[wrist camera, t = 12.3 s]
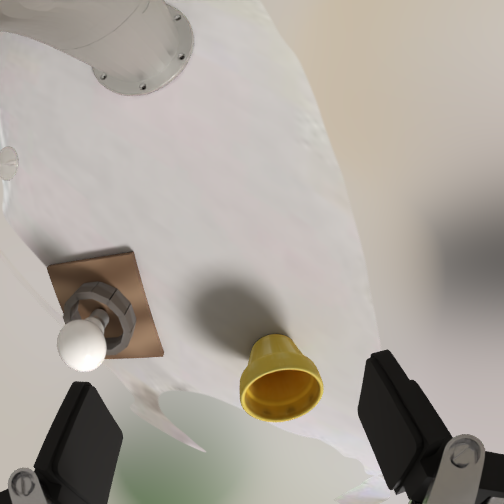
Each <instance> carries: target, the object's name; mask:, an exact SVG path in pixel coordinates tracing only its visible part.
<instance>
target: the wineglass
mask: <svg viewBox="0 0 504 504" xmlns="http://www.w3.org/2000/svg"><path fill="white" fill-rule="evenodd" d="M17 169H18V156H17V153H16V151H15V150H14V149H13V148H12V147H5V148H3V149H2V150H1V152H0V177H1V178H2V179H3V180H5V181H8V180H11V179H12V178H13V177H14V176H15V174H16V172H17Z"/></svg>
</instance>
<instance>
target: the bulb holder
mask: <svg viewBox="0 0 504 504" xmlns="http://www.w3.org/2000/svg"><path fill="white" fill-rule="evenodd" d="M47 270H48V273H49V276H50V279H51V282H52V285H53V287H54V290H55V293H56V295H57V298H58V301H59V303H60V306H61V308H62V311H63V313H64V316H63V319H64V322H65V324H67V323H69V322H70V321H73V320H79V319H82V320H84V319H86V318H88V317H89V316H90V315H91V314H92V312H93V311H94V310H95V309H102V310H104V311H105V312H106V313H107V314H108V316H109V323H108V324H107V326H106V327H105V329H104V337H105V340H106V346H107V350H106V356H105V358H104V359H122V358H146V357H163V355H164V351H163V348H162V345H161V342H160V339H159V336H158V333H157V330H156V327H155V324H154V321H153V318H152V315H151V312H150V308H149V305H148V302H147V298H146V295H145V292H144V288H143V285H142V281H141V278H140V274H139V270H138V267H137V263H136V259H135V255H134V252H128V253H121V254H115V255H108V256H102V257H96V258H90V259H83V260H77V261H71V262H65V263H59V264H53V265H49V266H48V267H47Z"/></svg>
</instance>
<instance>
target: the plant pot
mask: <svg viewBox="0 0 504 504" xmlns="http://www.w3.org/2000/svg"><path fill="white" fill-rule="evenodd" d="M322 394H323V382H322V379H321V377H320V374H319V372H318V370H317V367H316V366H315V364H314V363H313V362H312V361H311V360H310V359H309V358H308V357H306V356H304V355H303V354H302V353H301V352H300V350H299V349H298V348H297V346H296V345H295V344H294V342H293V341H292V340H291V339H290V338H288V337H287V336H284V335H281V334H271V335H267V336H264V337H262V338H261V339H259V340H258V341H257V342H256V343H255V344H254V346H253V347H252V350H251V354H250V358H249V362H248V366H247V367H246V369H245V370H244V371H243V373H242V376H241V379H240V402H241V405H242V407H243V409H244V410H245V411H246V412H247V413H248V414H249V415H250V416H252V417H254V418H256V419H259V420H262V421H267V422H283V421H289V420H292V419H295V418H298V417H300V416H302V415H304V414H306V413H308V412H309V411H310V410H312V409H313V408H314V407H315V406H316V405H317V404H318V402H319V401H320V399H321V397H322Z"/></svg>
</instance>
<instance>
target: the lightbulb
mask: <svg viewBox="0 0 504 504" xmlns="http://www.w3.org/2000/svg"><path fill="white" fill-rule="evenodd" d="M108 323H109V316H108V314H107V313H106V312H105V311H104V310H102V309H95V310H94V311H93V312H92V314H91V315H90V316H89V317H88V318H86V319H84V320H82V319H79V320H73V321H70V322H69V323H67V324H66V325H65V326H64V327H63V328H62V329H61V331H60V333H59V335H58V339H57V347H58V352H59V355H60V357H61V359H62V360H63V361H64V363H65V364H66V365H67V366H69V367H70V368H72V369H74V370H76V371H80V372H88V371H92V370H94V369H96V368H97V367H99V365H101V363H102V362H103V360H104V358H105V356H106V350H107V346H106V340H105V337H104V329H105V327H106V326H107V324H108Z"/></svg>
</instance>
